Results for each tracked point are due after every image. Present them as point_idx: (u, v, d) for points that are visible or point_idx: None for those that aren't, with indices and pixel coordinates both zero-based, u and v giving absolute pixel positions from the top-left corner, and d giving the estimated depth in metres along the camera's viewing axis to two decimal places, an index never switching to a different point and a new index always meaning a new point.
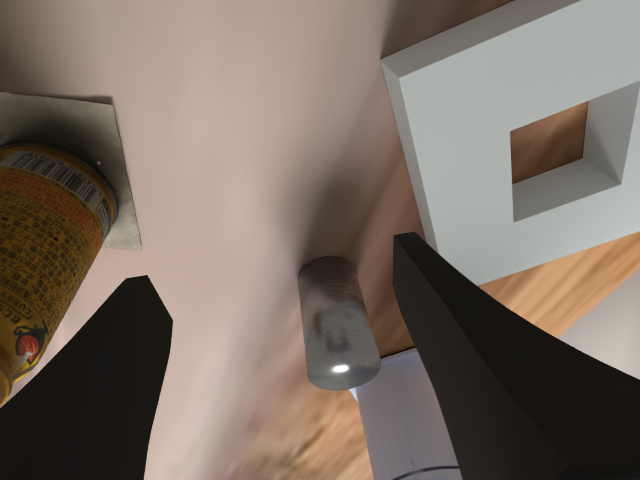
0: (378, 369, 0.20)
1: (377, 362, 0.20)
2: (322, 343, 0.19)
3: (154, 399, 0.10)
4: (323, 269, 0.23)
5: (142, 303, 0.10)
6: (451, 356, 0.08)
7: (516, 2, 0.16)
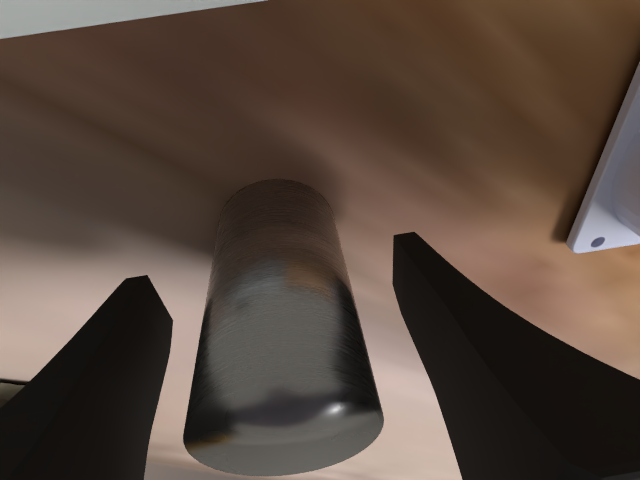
0: (321, 386, 0.06)
1: (284, 389, 0.06)
2: None
3: (154, 399, 0.10)
4: None
5: (142, 303, 0.10)
6: (451, 356, 0.08)
7: None
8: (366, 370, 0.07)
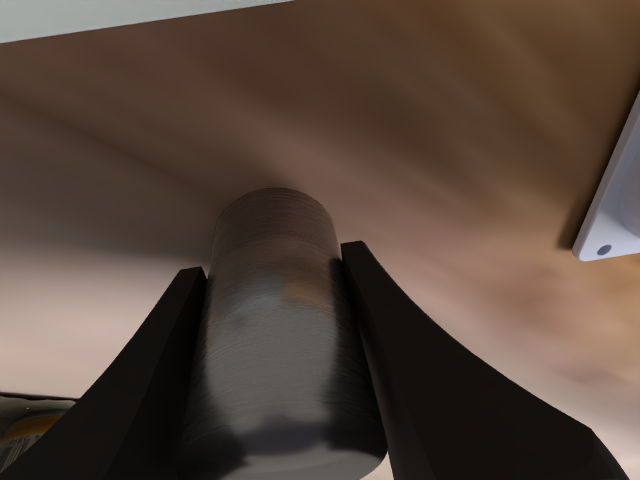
0: (322, 416, 0.06)
1: (282, 419, 0.06)
2: None
3: None
4: None
5: (199, 294, 0.10)
6: (379, 368, 0.08)
7: None
8: (369, 394, 0.07)
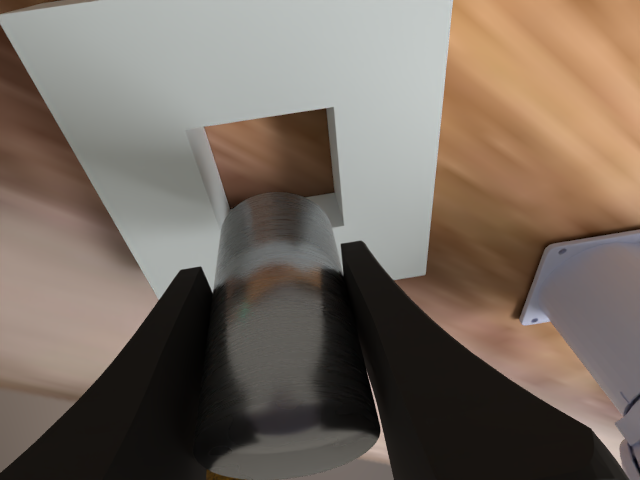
0: (313, 403, 0.07)
1: (278, 408, 0.07)
2: None
3: None
4: None
5: (199, 294, 0.10)
6: (379, 368, 0.08)
7: None
8: (359, 381, 0.08)
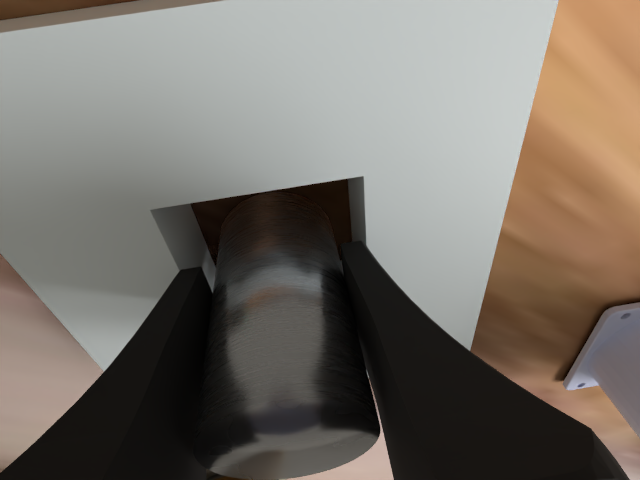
0: (312, 403, 0.07)
1: (278, 407, 0.07)
2: None
3: None
4: None
5: (199, 294, 0.10)
6: (379, 368, 0.08)
7: None
8: (359, 380, 0.08)
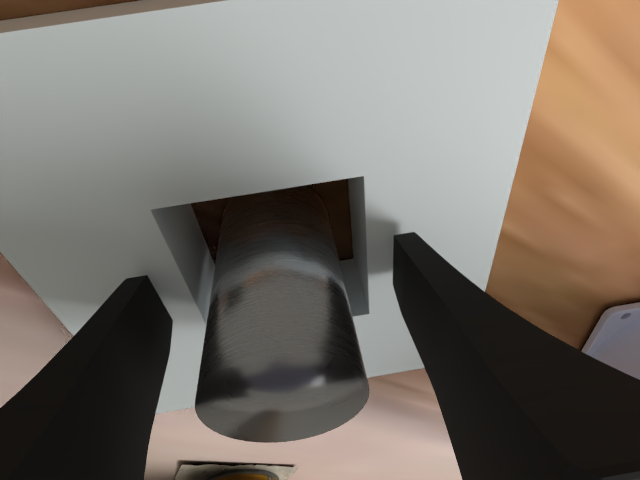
0: (305, 356, 0.07)
1: (273, 360, 0.07)
2: None
3: (154, 399, 0.10)
4: None
5: (142, 303, 0.10)
6: (451, 356, 0.08)
7: None
8: (349, 342, 0.08)
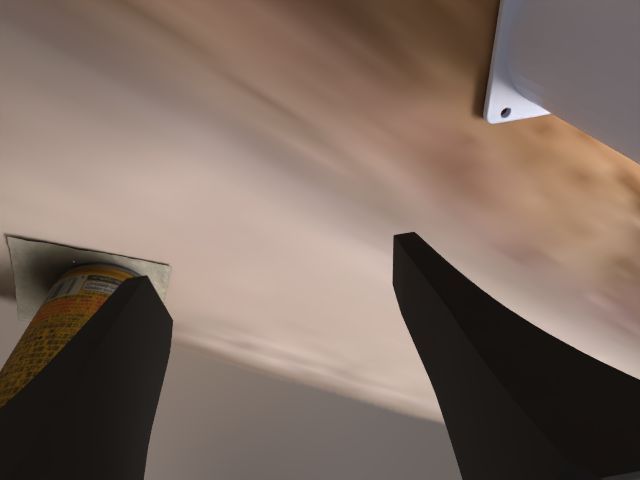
0: None
1: None
2: None
3: (154, 399, 0.10)
4: None
5: (142, 303, 0.10)
6: (451, 356, 0.08)
7: None
8: None
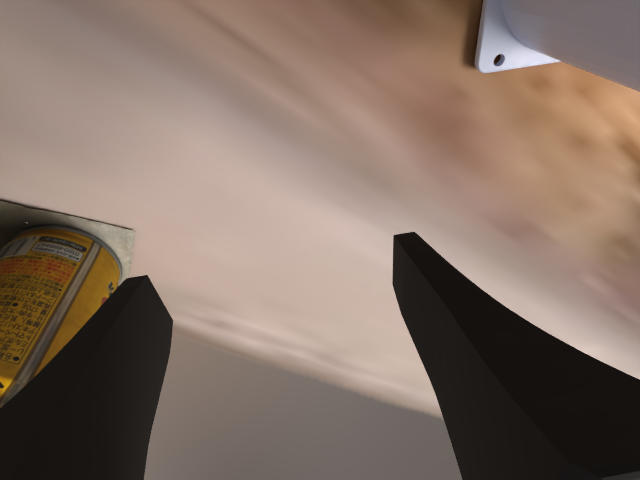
0: None
1: None
2: None
3: (154, 399, 0.10)
4: None
5: (142, 303, 0.10)
6: (451, 356, 0.08)
7: None
8: None
